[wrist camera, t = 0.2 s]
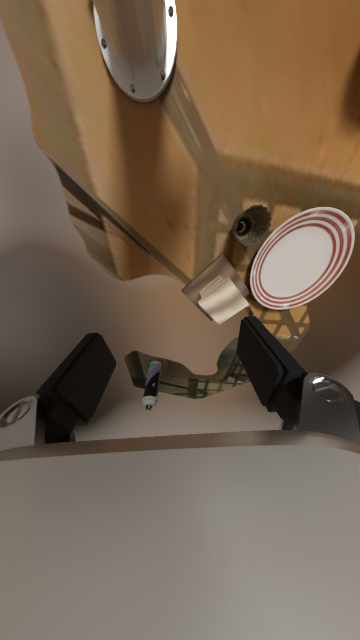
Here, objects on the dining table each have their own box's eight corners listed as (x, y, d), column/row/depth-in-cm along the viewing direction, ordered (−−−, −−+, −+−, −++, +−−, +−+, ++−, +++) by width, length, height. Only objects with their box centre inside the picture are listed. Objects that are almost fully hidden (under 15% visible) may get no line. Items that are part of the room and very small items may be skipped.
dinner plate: (277, 195, 33) (286, 192, 31) (369, 222, 37) (385, 222, 34) (232, 298, 48) (235, 302, 45) (300, 310, 51) (307, 315, 49)
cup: (251, 202, 34) (269, 195, 27) (257, 233, 37) (274, 234, 31) (221, 220, 36) (232, 218, 29) (230, 248, 39) (241, 252, 33)
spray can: (159, 359, 65) (152, 405, 48) (162, 366, 68) (158, 412, 51) (148, 361, 65) (138, 407, 49) (152, 368, 68) (144, 414, 52)
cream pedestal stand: (181, 289, 46) (182, 303, 37) (222, 253, 40) (233, 259, 32) (210, 318, 52) (216, 335, 44) (248, 291, 46) (264, 304, 38)
